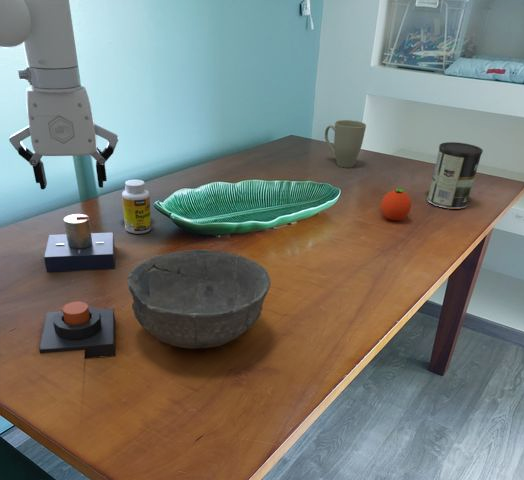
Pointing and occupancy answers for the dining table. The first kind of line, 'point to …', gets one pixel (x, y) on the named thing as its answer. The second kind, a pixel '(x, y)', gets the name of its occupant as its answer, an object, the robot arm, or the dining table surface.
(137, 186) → the supplement bottle
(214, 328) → the bowl
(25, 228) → the dining table surface
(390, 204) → the clementine
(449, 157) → the coffee can
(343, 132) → the mug
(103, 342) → the button base
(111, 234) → the lock panel
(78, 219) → the lock knob
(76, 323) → the orange short cylinder
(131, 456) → the dining table surface
